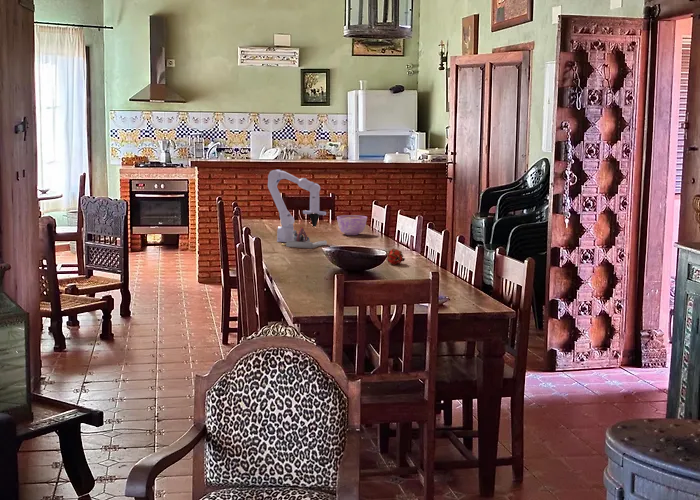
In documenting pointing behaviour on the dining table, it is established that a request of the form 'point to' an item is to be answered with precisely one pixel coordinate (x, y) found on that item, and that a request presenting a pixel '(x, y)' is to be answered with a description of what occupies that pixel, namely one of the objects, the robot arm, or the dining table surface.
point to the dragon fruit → (395, 257)
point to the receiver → (305, 244)
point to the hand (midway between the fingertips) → (314, 226)
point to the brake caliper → (300, 236)
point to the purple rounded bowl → (351, 224)
